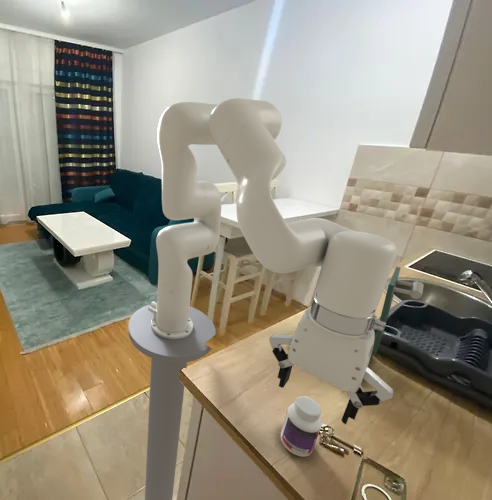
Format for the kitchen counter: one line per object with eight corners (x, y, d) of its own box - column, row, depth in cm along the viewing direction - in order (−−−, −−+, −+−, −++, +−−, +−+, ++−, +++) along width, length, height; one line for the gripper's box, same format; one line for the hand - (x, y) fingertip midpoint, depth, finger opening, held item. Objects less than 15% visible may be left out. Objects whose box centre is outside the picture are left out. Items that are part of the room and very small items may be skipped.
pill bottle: (316, 461, 51) (331, 423, 47) (283, 453, 52) (295, 415, 48) (307, 432, 56) (320, 395, 52) (277, 426, 57) (288, 389, 53)
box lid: (388, 284, 59) (423, 292, 55) (396, 266, 67) (427, 272, 63) (371, 351, 64) (402, 362, 60) (380, 327, 72) (408, 335, 69)
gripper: (418, 329, 40) (379, 418, 46) (288, 285, 51) (271, 361, 57) (414, 356, 35) (370, 451, 41) (271, 301, 46) (254, 382, 52)
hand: (312, 399), depth 49 cm, fingers open, 9 cm apart
